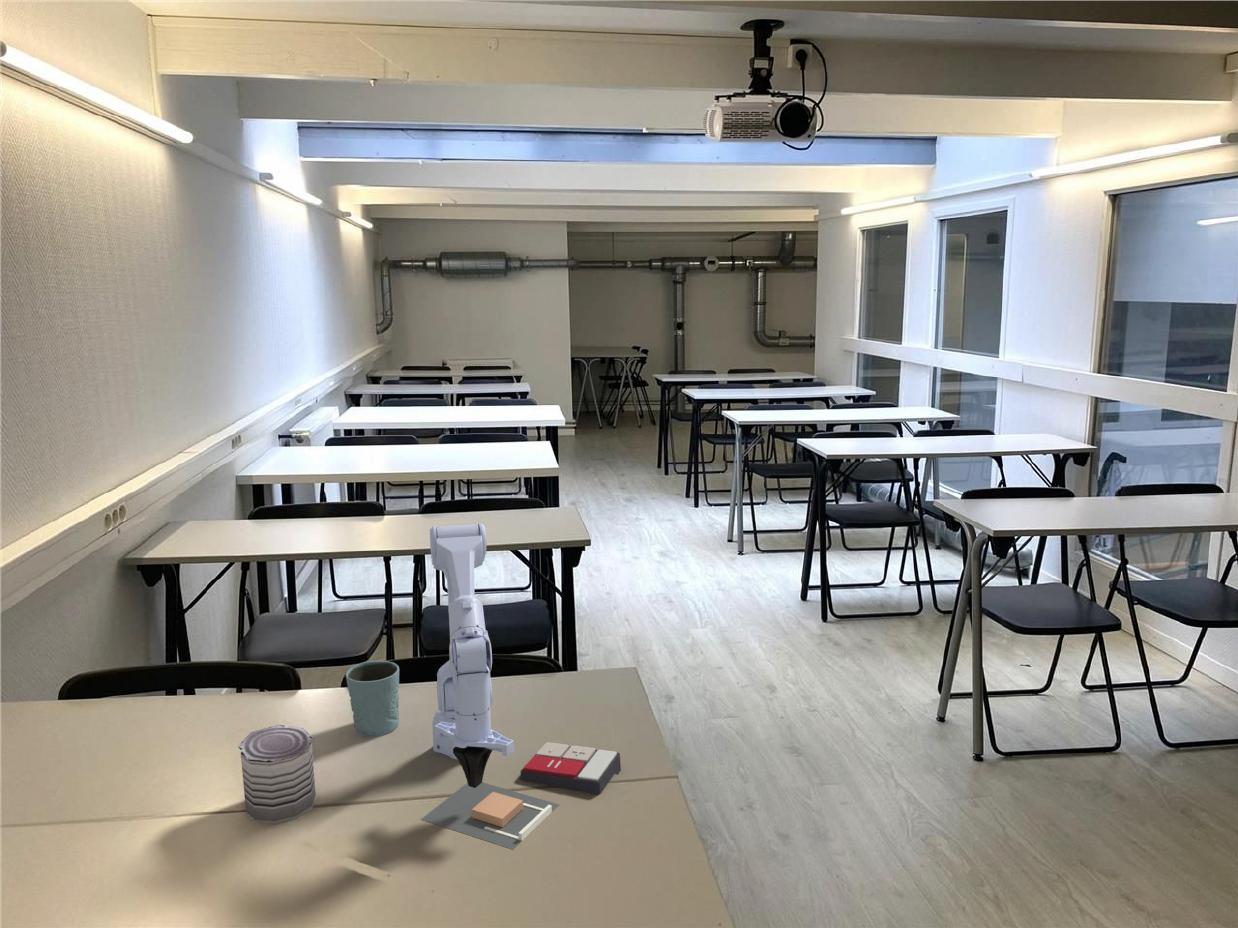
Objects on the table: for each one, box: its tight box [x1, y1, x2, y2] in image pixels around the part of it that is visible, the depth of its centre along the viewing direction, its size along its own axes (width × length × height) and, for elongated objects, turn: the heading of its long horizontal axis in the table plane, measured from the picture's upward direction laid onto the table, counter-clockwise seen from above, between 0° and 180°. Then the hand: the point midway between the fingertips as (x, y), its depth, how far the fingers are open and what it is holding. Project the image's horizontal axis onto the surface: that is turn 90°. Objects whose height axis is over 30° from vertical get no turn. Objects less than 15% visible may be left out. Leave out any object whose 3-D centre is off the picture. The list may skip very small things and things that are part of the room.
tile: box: [472, 792, 523, 827], centre depth 153 cm, size 2×6×6 cm
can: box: [237, 724, 317, 825], centre depth 157 cm, size 11×11×12 cm
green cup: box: [345, 660, 400, 738], centre depth 185 cm, size 10×10×12 cm
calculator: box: [520, 741, 622, 796], centre depth 166 cm, size 11×4×15 cm
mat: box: [420, 781, 560, 850], centre depth 154 cm, size 18×14×2 cm
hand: (475, 784), depth 154 cm, fingers closed
